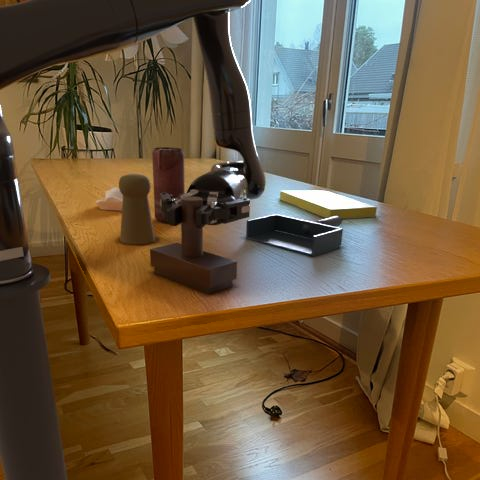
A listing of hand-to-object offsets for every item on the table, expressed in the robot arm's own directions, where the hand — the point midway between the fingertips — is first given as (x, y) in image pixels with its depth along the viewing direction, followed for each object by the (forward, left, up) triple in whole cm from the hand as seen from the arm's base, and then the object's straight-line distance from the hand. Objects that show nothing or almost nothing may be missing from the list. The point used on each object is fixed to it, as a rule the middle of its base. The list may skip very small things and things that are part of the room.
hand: (185, 218), depth 59 cm
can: (-1, +39, -9) cm, 40 cm away
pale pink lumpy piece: (-12, +52, -9) cm, 54 cm away
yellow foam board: (+36, +52, -9) cm, 64 cm away
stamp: (+1, +3, -9) cm, 9 cm away
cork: (-7, +24, -9) cm, 26 cm away
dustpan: (+24, +24, -9) cm, 36 cm away
